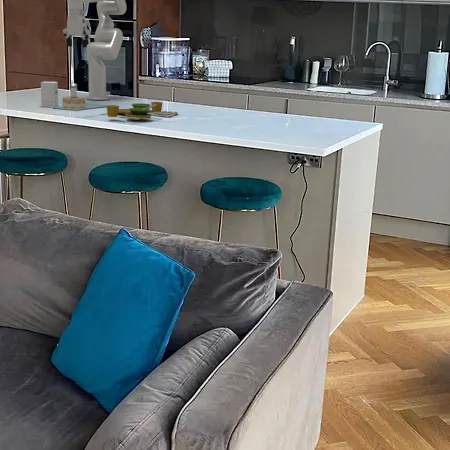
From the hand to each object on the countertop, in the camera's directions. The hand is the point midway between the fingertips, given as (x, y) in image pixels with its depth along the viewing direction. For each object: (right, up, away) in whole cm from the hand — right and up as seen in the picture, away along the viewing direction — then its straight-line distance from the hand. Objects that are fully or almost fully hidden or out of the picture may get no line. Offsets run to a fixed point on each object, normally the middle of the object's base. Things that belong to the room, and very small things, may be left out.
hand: (77, 46), depth 385 cm
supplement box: (-13, -32, -4) cm, 35 cm away
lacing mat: (+4, -32, -3) cm, 33 cm away
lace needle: (0, -33, -10) cm, 35 cm away
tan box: (0, -33, -10) cm, 35 cm away
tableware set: (+34, -39, -20) cm, 55 cm away
